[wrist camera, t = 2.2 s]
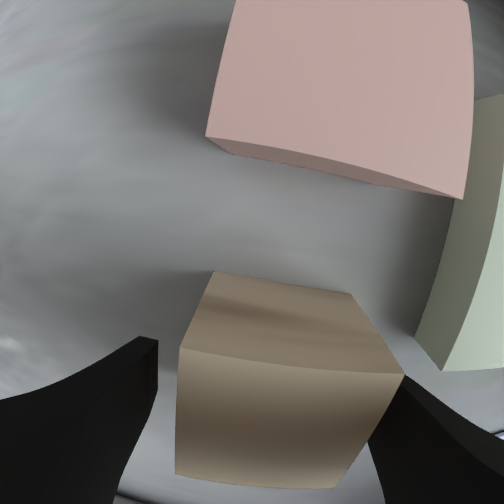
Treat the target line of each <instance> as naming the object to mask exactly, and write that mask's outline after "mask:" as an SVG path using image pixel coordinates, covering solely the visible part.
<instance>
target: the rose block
mask: <svg viewBox="0 0 504 504" xmlns="http://www.w3.org/2000/svg"><path fill="white" fill-rule="evenodd" d="M473 106H474V65H473V47H472V35H471V25H470V17H469V10H468V4H467V3H465V2H464V1H462V0H236V3H235V6H234V10H233V14H232V18H231V21H230V25H229V29H228V33H227V37H226V41H225V45H224V49H223V53H222V58H221V62H220V66H219V71H218V75H217V80H216V84H215V89H214V94H213V98H212V103H211V108H210V113H209V118H208V123H207V129H206V134H205V137H207V138H208V139H210V140H211V141H213V142H214V143H216V144H217V145H219V146H220V147H222V148H223V149H225V150H226V151H228V152H229V153H231V154H232V155H238V156H244V157H250V158H256V159H262V160H267V161H273V162H278V163H283V164H288V165H293V166H298V167H303V168H307V169H312V170H317V171H321V172H325V173H330V174H334V175H338V176H342V177H346V178H351V179H354V180H358V181H362V182H366V183H370V184H374V185H377V186H385V187H391V188H398V189H405V190H411V191H417V192H423V193H429V194H435V195H440V196H445V197H451V198H456V199H461V200H463V195H464V190H465V184H466V178H467V171H468V164H469V156H470V147H471V137H472V125H473Z"/></svg>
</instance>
